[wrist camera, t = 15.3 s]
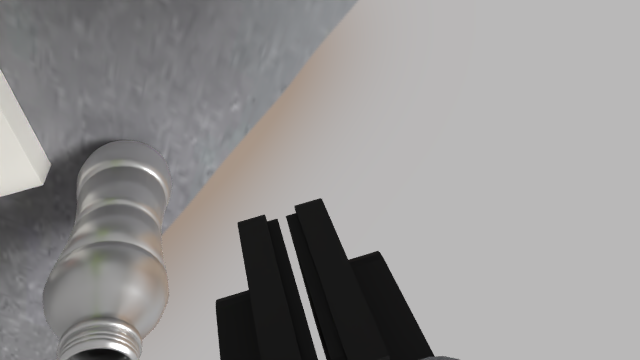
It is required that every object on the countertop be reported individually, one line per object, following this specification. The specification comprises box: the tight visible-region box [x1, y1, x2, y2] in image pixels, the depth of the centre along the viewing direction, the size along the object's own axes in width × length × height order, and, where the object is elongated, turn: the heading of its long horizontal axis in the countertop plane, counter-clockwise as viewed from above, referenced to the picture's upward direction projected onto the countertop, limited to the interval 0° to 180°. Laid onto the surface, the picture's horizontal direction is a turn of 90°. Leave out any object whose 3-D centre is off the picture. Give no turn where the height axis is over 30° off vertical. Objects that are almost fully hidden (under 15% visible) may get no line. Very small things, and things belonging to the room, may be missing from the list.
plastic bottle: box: [42, 140, 173, 360], centre depth 34 cm, size 6×7×20 cm
